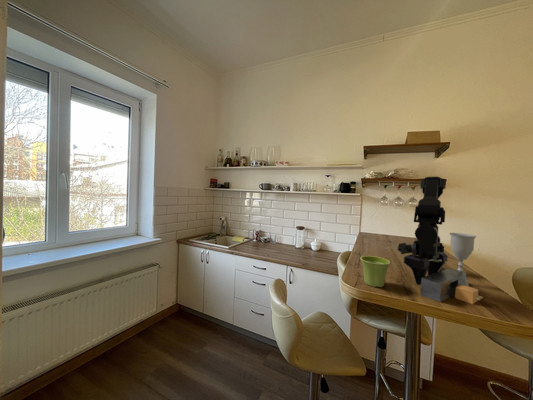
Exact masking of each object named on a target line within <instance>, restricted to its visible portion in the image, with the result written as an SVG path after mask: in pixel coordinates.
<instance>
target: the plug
mask: <svg viewBox="0 0 533 400" xmlns="http://www.w3.org/2000/svg"><path fill="white" fill-rule="evenodd" d="M449 296H450V297H451V296H452V297H454V298H455V299H456V300H459V301H463V302H465V303H467V304H470V305H474V304H475V303H477V302H478V301H480V300H482V299H483V297H484V296H481V295H479V289H478V288H475V287H473V286H472V287H471V286H465V285H462V284H461V285H459V286H457V287H456V288H452V287H450V294H449Z"/></svg>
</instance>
